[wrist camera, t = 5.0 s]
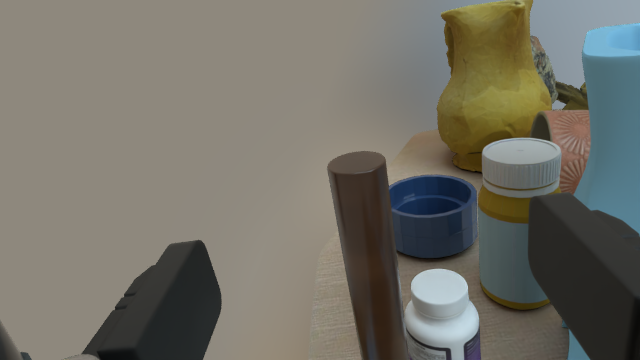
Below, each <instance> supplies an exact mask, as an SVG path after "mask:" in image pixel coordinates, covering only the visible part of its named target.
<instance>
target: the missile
mask: <svg viewBox="0 0 640 360" xmlns="http://www.w3.org/2000/svg"><path fill="white" fill-rule="evenodd" d="M555 89H556V91H557V93H558V97H557V99H556V100H559V101H560V102H563V103H565V104H566V106H565V107H564V108H563V109H562V110H589V107H588V98H587V90H586V83H584V84H583V85H582V86H581V88H580V90H579V89H577V88H574V87H573V86H572V85H567V84H564V83H561V82H557V81H555Z"/></svg>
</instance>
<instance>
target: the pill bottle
mask: <svg viewBox="0 0 640 360" xmlns="http://www.w3.org/2000/svg"><path fill="white" fill-rule="evenodd" d="M411 297H412V300H411V301H410V302H409V303H408V305H407V307H406V310H405V327H406V334H407V342H408V349H409V357H410V360H481V353H480V326H479V316H478V312H477V310H476V308H475V306H474V305H473V303H472V302H471V301H470V300H469V296H468V286H467V283H466V281H465V279H464V278H463V277H462V276H461V275H459V274H458V273H456V272H454V271H451V270H446V269H430V270H426V271H423V272H421V273H419V274H418V275H417V276H415V277H414V279H413V280H412V282H411Z"/></svg>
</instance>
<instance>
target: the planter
mask: <svg viewBox="0 0 640 360" xmlns="http://www.w3.org/2000/svg"><path fill="white" fill-rule="evenodd" d="M530 138H535V139H542V140H546V141H550V142H552V143H555V144H556V145H558V146H559V147H560V149H561V153H562V154H561V170H560V175H559V176H560V179H559V187H560V190H561V193H563V192H569V193H571V194H572V195H574V193H575V191H576V188H577V186H578V184H579V182H580V180H581V178H582V175H583V173H584V171H585V168H586V164H587V160H588V157H589V153H590V146H591V135H590V118H589V110H553V111H539V112H538V113H537V114H536V116H535V118H534V120H533V123H532V127H531V132H530Z"/></svg>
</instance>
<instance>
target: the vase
mask: <svg viewBox="0 0 640 360" xmlns="http://www.w3.org/2000/svg"><path fill="white" fill-rule="evenodd" d="M582 62H583V68H584V76H585V83H586V90H587V98H588V107H589V118H590V135H591V146H590V153H589V157H588V160H587V164H586V168H585V171H584V173H583V175H582V178H581V180H580V182H579V184H578V186H577V188H576V191H575V193H574V195H573V196H575V197H576V198H577V199H578V200H579V201H580V202H582V203H583V204H584V205H585V206H586V207H587V208H589V209H590V210H600V211H602V212H604V213H607V214H609V215H611V216H614V217H616V218H619V219H621V220H623V221H624V222H625V223H626V224H628V225H629V226H630V227H631V228H633V229H634V230H635V231H636V232H638V233H639V236H640V23H635V24H626V25H616V26H608V27H602V28H597V29H593V30H590V31H588V33H587V34H586V37H585V41H584V46H583V50H582ZM562 327H566V328H568V327H567V325H566V324H565V322H564V321H562ZM567 360H590V359H589V357H588V356H587V354H586V353H585V351H584V350H583V348H582V347H581V346H580V344H579V343H578V341H577V340H576V338H575V337H574V335H573V334H572V332H571V331H570V330H569V351H568V357H567Z"/></svg>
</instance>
